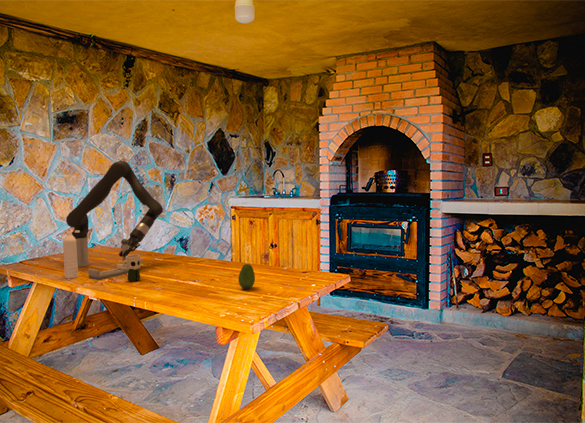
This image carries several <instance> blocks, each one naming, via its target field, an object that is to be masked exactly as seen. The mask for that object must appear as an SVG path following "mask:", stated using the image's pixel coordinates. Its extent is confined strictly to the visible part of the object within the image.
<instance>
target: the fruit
mask: <svg viewBox="0 0 585 423" xmlns="http://www.w3.org/2000/svg"><path fill="white" fill-rule="evenodd" d="M255 282H256V275H255V272H254V268H253V266H252V265H251V264H249V263H245V264H243V266H242V267H241V269H240V271H239V275H238V285H239V286H240V288H242V289H243V290H249V289H251V288H252V287H253V286H254V285H255Z"/></svg>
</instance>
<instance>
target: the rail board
mask: <svg viewBox="0 0 585 423" xmlns="http://www.w3.org/2000/svg"><path fill="white" fill-rule="evenodd" d="M138 269H139V270H140V267H139V268H138ZM128 270H129V269H119V268H114V269H110V270H104V271H100V269H99V270H98V269H93V268H88V269H87V271H88V279H91V280H94V281H100V280H106V279H110V278H115V277H119V276H122V275H123V274H124V275H128V274H127V273H128Z"/></svg>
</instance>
